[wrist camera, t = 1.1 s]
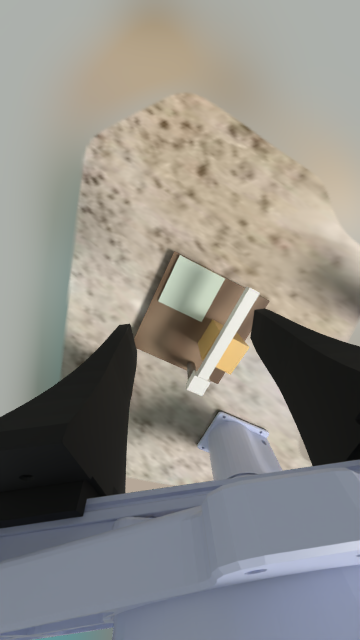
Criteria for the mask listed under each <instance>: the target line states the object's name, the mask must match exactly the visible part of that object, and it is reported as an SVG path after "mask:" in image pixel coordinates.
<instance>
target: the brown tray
mask: <svg viewBox="0 0 360 640" xmlns="http://www.w3.org/2000/svg"><path fill="white" fill-rule="evenodd" d="M180 255H181V254H179V253H177V252H175V251H174V253H173V256H172V258H171V260H170V262H169V264H168V266H167V269H166V271H165V273H164V275H163V277H162V279H161V281H160V284H159V286H158V288H157V290H156V292H155V294H154V297H153V299H152V301H151V303H150V305H149V307H148V310H147V312H146V314H145V316H144V318H143V320H142V323H141V325H140V327H139V329H138V331H137V333H136V336H135V338H134V341H135V345H136V348H137V349H140V350H142V351H144V352H146V353H149V354H151V355H153V356H155V357H158V358H160V359H162V360H164V361H167V362H169V363H171V364H173V365H176V366H178V367H180V368H183V369H185V370H187V372H188V379H189V378H190V376H191V374H192V373H193V371H194V370H195V371H198V369H199V368H200V366H201V364H202V362H203V360H201V355H200V351H199V347H198V342H199V340H200V339H201V337H202V336H203V334H204V332H205V331H206V329H207V328H208V326H209V324H210V323H211V321H212V319H213V320H215V321H217V322H218V323H220V324H222V325H224V324H225V323H226V321H227V319H228V318H229V316H230V314H231V312H232V311H233V309H234V307H235V306H236V304H237V302H238V300H239V299H240V297H241V295H242V293H243V292H244V290H245V288H244V287H242V286H240V285H238V284H236V283H234V282H232V281H230V280H229V279H227V278H225V277H223V276H221V275H219V274H217V273H215V272H213V271H212V272H213V273H215V274H217V275H219V276H221V277H223V278H225V280H224V282H223V284H222V285H221V287H220V289H219V291H218V293H217V295H216V296H215V298H214V300H213V302H212V304H211V305H210V307H209V309H208V311H207V313H206V315H205V316H204V318H203V320H202V322H200V321H198V320H196V319H194V318H192V317H190V316H188V315H186V314H184V313H182V312H179V311H177V310H175V309H173V308H171V307H169V306H167V305H165V304H163V303H161V302H159V301H158V300H159V298H160V296H161V294H162V292H163V290H164V288H165V286H166V283H167V281H168V279H169V277H170V275H171V273H172V271H173V269H174V266H175V264H176V262H177V260H178V258H179V256H180ZM181 256H182V255H181ZM183 257H184V256H183ZM185 258H186V257H185ZM187 259H188V258H187ZM189 260H190V259H189ZM190 261H192V260H190ZM192 262H194V261H192ZM194 263H196V262H194ZM196 264H198V263H196ZM198 265H200V264H198ZM200 266H202V265H200ZM202 267H204V266H202ZM204 268H205V267H204ZM206 269H207V268H206ZM208 270H209V269H208ZM210 271H211V270H210ZM268 303H269V300H267V299H265V298H263V297H261V296H258V297H257V299H256V301H255V302H254V304H253V306H252V307H251V309H250V311H249V312H248V314H247V316H246V317H245V319H244V321H243V322H242V324H241V326H240V327H239V329H238V331H237V333H238V334H239V335H240V337H241V338H242V339H243V340H244V341H245V340H246V338H247V337H248V335H249V333H250V332H251V330H252V323H253V316H254V310H256V309H264V308H266V306H267V304H268ZM224 373H225V372H224V371H222V370H220V369H218V368H216V367H215V369H214V370H213V372H212V374H211V375H210V377H209V379H210V381H212V382H214V383H217V384H218V383H219V381H220V380H221V378H222V377H223V375H224Z"/></svg>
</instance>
